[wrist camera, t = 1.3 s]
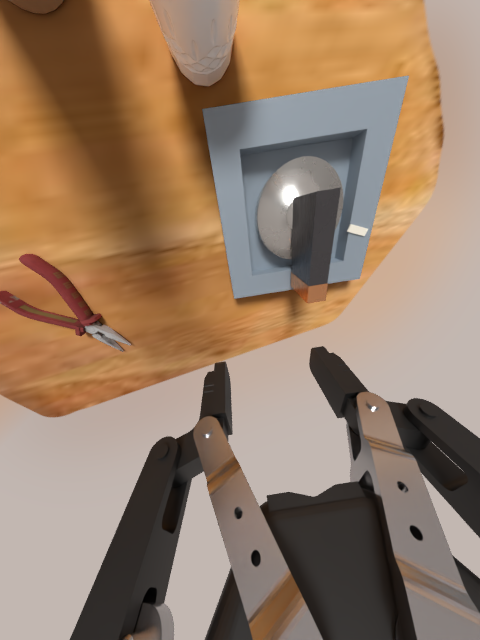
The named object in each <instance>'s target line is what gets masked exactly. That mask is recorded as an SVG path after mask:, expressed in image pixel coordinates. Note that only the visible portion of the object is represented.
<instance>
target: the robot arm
mask: <svg viewBox="0 0 480 640" xmlns="http://www.w3.org/2000/svg"><path fill="white" fill-rule="evenodd" d="M9 1H10V2H12V3H13V4H15V5H17V6H18V7H20V8H21V9H24V10H27V11H30V12H32V13H44V14H46V13H48V12H51V11H54V10H55V9H56V8H57V7H58V6H59V5H60V4H61V3H62V2H63V0H9ZM309 364H310V369H311V372H312V374H313V376H314V377H315V379H316V381H317V383H318V384H319V386H320V388H321V390H322V391H323V393H324V395H325V397H326V398H327V400H328V402H329V404H330V406H331V407H332V409H333V411H334V413H335V414H336V416H337V418H342V417H345V419H346V421H347V425H346V426H347V435H348V442H349V449H350V458H351V470H350V481H351V482H349V483H343V484H337V485H334V486H332V487H331V488H329V489H327V490H326V491H324V492H323V493H321V494H319V495H318V496H316V497H311V496H306V495H302V494H297V493H292V492H286V493H279V494H273V495H267V502H265V503H263V504H262V505H261V506H260V507H259V505H258V503H257V501H256V498H255V496H254V494H253V492H252V490H251V488H250V486H249V484H248V482H247V479H246V477H245V475H244V473H243V471H242V469H241V467H240V465H239V463H238V461H237V459H236V458H235V456H234V453H233V451H232V449H231V447H230V445H229V443H228V435H232V411H231V386H230V377H229V372H228V368H227V364H226V362H219V363H215V368H214V371H212V372H208V374H207V375H206V377H205V380H204V388H203V397H202V404H201V413H200V419H199V421H198V423H197V424H196V426H195V427H194V428H193V429H192V430H191V431H190V432H188V433H187V434H185V435H183V436H181V437H179V438H177V439H175V438H173V437H164V438H162V439H160V440H159V441H158V442H157V443H156V444H155V445H154V446H153V447H152V449H151V451H150V453H149V455H148V457H147V460H146V462H145V465H144V467H143V469H142V472H141V474H140V476H139V479H138V481H137V483H136V486H135V488H134V490H133V493H132V495H131V497H130V500H129V502H128V504H127V507H126V509H125V511H124V514H123V516H122V519H121V521H120V523H119V526H118V528H117V530H116V533H115V535H114V537H113V540H112V542H111V544H110V547H109V549H108V551H107V554H106V556H105V558H104V561H103V563H102V565H101V568H100V570H99V573H98V575H97V577H96V580H95V582H94V585H93V587H92V589H91V591H90V594H89V596H88V598H87V601H86V603H85V605H84V608H83V610H82V612H81V615H80V617H79V620H78V622H77V624H76V627H75V629H74V631H73V634H72V636H71V638H70V640H174V623H173V617H172V614H171V611H170V609H169V608H168V606H166V605H165V604H164V600H165V596H166V592H167V587H168V582H169V578H170V573H171V569H172V565H173V560H174V556H175V551H176V547H177V543H178V538H179V534H180V529H181V525H182V520H183V516H184V511H185V507H186V502H187V498H188V494H189V489H190V485H191V480H192V478H193V477H195V476H196V475H198V474H200V473H202V472H203V471H204V472H205V476H206V479H207V487H208V491H209V495H210V498H211V502H212V505H213V508H214V511H215V515H216V518H217V521H218V525H219V527H220V531H221V534H222V537H223V541H224V544H225V548H226V551H227V554H228V557H229V561H230V564H231V569H230V572H229V574H228V577H227V580H226V583H225V585H224V588H223V591H222V594H221V596H220V599H219V602H218V605H217V608H216V610H215V613H214V616H213V618H212V621H211V624H210V627H209V630H208V632H207V635H206V638H205V640H480V579H479V578H478V577H477V576H476V575H475V574H473V573H472V572H471V571H470V570H469V569H468V568H466V567H465V566H464V565H463V564H462V563H461V562H459V561H458V560H457V559H456V558H455V557H454V556H453V555H452V554H451V551H450V548H449V545H448V543H447V540H446V538H445V535H444V532H443V530H442V527H441V524H440V522H439V519H438V517H437V514H436V511H435V509H434V506H433V503H432V501H431V498H430V496H429V493H428V490H427V488H426V485H425V483H424V480H423V477H422V474H423V475H424V476H425V477H426V478H427V480H428V481H429V482H430V483H431V484H432V485H433V486H434V487H435V488H436V490H437V491H438V492H439V493H440V494H441V495H442V496H443V497H444V499H445V500H446V501H447V502H448V503H449V504H450V505H451V506H452V507H453V509H455V511H456V512H457V513H458V514H459V515H460V516H461V517H462V519H463V520H464V521H465V522H466V523H467V524H468V525H469V526H470V528H471V529H472V530H473V531H474V532H475V533H476V534H477V535H478V536H479V537H480V438H478V437H477V436H476V435H474V434H473V433H472V432H470V431H469V430H468V429H467V428H465V427H464V426H463V425H461V424H460V423H459V422H457V421H456V420H455V419H453V418H452V417H451V416H450V415H448V414H447V413H446V412H444V411H443V410H442V409H440V408H439V407H438V406H436V405H435V404H433V403H431V402H429V401H426V400H423V399H418V398H414V399H411V400H409V401H408V403H407V404H403V403H395V402H389V401H385V400H384V399H383V398H381V397H380V396H378V395H376V394H374V393H371V392H369V391H368V390H367V389H366V388H365V387H364V385H363V384H362V383H361V382H360V380H359V379H358V378H357V377H356V376H355V374H354V373H353V372H352V371H351V370H350V368H349V367H348V366H347V365H346V364H345V362H344V361H343V360H342V359H341V358H340V357H339V356H337V355H336V354H334V353H329V352H328V351H327V350H326V348H324V347H323V346H322V347H316V348H312V349H311V354H310V363H309ZM432 442H433V443H434V444H435V445H436V446H437V447H438V448H440V450H442V452H441V451H440V450H439V449H438V448H437V447H436V446H435V445H434V444H433V443H432ZM443 452H444V453H445V454H446V455H447V456H448V457H449V458H450V459H451V460H452V461H453V462H454V463H455V464H457V465H455V464H454V463H453V462H452V461H451V460H450V459H449V458H448V457H447V456H446V455H445V454H444V453H443ZM458 466H459V467H460V468H461V469H462V470H463V471H462V470H461V469H460V468H459V467H458ZM421 473H422V474H421Z"/></svg>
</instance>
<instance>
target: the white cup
mask: <svg viewBox="0 0 480 640" xmlns="http://www.w3.org/2000/svg"><path fill="white" fill-rule="evenodd" d="M149 1H150V4H151V7H152V9H153V11H154V14H155V16H156V19H157V21H158V24H159V26H160V29H161V31H162V33H163V36H164V38H165V40H166V42H167V44H168V47H169V50H170V52H171V54H172V56H173V58H174V60H175V62H176V64H177V65H178V67H179V69H180V71H181V73H182V74H183V75H184V76H186V77H187V78H188V79H189V80H190V81H191V82H193V83H194V84H195V85H202V86H208V87H209V86H210V85H212V84H214V83H215V82H217V81H219V80H220V79H221V78H222V76H223V75H224V73H225V71H226V69H227V67H228V65H229V64H230V59H231V53H232V47H233V40H234V34H235V30H236V24H237V16H238V8H239V0H149Z"/></svg>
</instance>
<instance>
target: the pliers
mask: <svg viewBox="0 0 480 640" xmlns="http://www.w3.org/2000/svg"><path fill="white" fill-rule="evenodd" d="M19 260H20V262H21V263H22V264H24V265H25V266H27V267H28V268H30V269H31V270H33V271H35V272H36V273H38V274H39V275H41V276H42V277H44V278H45V279H46V280H47V281H49V282H50V283H51V284H52V285H53V286H54V288H55V289H56V290H57V291H58V293H59V294H60V295H61V296H62V298H63V299H64V300H65V302H66V303H67V304H68V306H69V307H70V308H71V310H72V311H73V312H74V314H75V315H76V316H77V318H78V319H75V318H71V317H67V316H63V315H59V314H55V313H51V312H47V311H43V310H40V309H37V308H35V307H33V306H31V305H29V304H27V303H25V302H24V301H22V300H20V299H19V298H17V297H15V296H14V295H12V294H10V293H9V292H7V291H0V303H1V304H2V305H4V306H6V307H7V308H9V309H11V310H13V311H14V312H16V313H18V314H20V315H22V316H25V317H27V318H30V319H34V320H37V321H42V322H46V323H50V324H54V325H59V326H63V327H67V328H71V329H75V331H76V335H78V336H82V335H83V334H85V333H86V332H88V333H91V334H93V335H92V336H93V337H94V338H96V339H98V340H99V341H101V342H103V343H105V344H107V345H110V346H112V347H114V348H116V349H118V350H120V351H122V352H123V351H124V350H123V349H122V348H121V347H120V346H119V345H118V344H117V343H116V342H115V341H114V340H116V341H119V342H122V343H125V344H128V345H131V343H129V342H128V341H127V340H126V339H124V338H123V337H122V336H120V335H119V334H118V333H117V332H115V331H114V330H113V329H111V328H110V327H108V326H106V325H101V324H100V323H99V322H98V321H97V320H98V319H99V318H101V317H102V316H101V314H94V315H93V313H92V312H91V310H90V309H89V308H88V306H87V305H86V303H85V302H84V300H83V299H82V297H81V296H80V295H79V293H78V292H77V290H76V289H75V287H74V286H73V285H72V283H71V282H70V281H69V280H68V279H67V277H66V276H65V275H64V274H63V273H62V272H60V271H59V270H58V269H56V268H55V267H53V266H52V265H50V264H49V263H47V262H46V261H44V260H43V259H41V258H40V257H38V256H36V255H33V254H25V255H22V256H21V257H20V258H19Z"/></svg>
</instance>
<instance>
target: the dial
mask: <svg viewBox="0 0 480 640" xmlns="http://www.w3.org/2000/svg"><path fill="white" fill-rule="evenodd" d="M342 209H343V188H342V184H341V180H340V178H339V176H338V174H337V172H336V171H335V169H334V168H333V167H332V166H331V165H330V164H329V163H328V162H327V161H325V160H323V159H321V158H318V157H313V156H303V157H299V158H295V159H293V160H291V161H289V162H287V163H286V164H284V165H283V166H281V167H280V168H279V169H278V170H277V171H276V172H275V173H273V174H272V176H271V177H270V178H269V179H268V180H267V182H266V183H265V184H264V186H263V188H262V190H261V192H260V194H259V197H258V200H257V203H256V208H255V225H256V230H257V233H258V236H259V238H260V240H261V242H262V243H263V244H264V246H265V247H266V248H267V249H268V250H270V251H271V252H272V253H274V254H275V255H277V256H279V257H282V258H285V259H292V265H291V287H292V288H293V289H294V290H295V291H296V292H297V293H298V294H299V295H300V296H301V297H302V298H303V299H304V300H305V301H306V302H307V303H312V302H319V301H325V300H326V294H327V287H328V276H329V269H330V261H331V254H332V247H333V240H334V233H335V229H336V227H337V225H338V223H339V220H340V217H341V214H342Z"/></svg>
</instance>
